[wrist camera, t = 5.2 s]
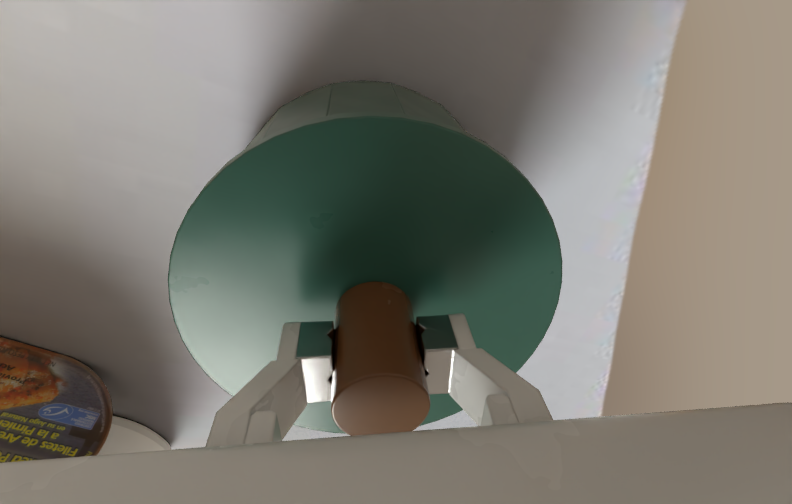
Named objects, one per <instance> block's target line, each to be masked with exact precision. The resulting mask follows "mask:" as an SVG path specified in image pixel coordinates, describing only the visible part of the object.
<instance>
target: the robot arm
mask: <svg viewBox="0 0 792 504" xmlns="http://www.w3.org/2000/svg"><path fill="white" fill-rule="evenodd" d="M416 330H417V335H418V340H419V345H420V350H421V356H422V361H423V366H424V370H425V375H426V380H427V385H428V390H429V394H448V393H450V394H449V395H450V396H451V397H452V398H453V399H454V400H455V401H456V402H457V403H458V404H459V406H460V407H461V408H462V409H463V410H464V411H465V412H466V413H467V414H468V415H469V416H470V417H471V418H472V420H473V421H474V422H475V423H476V424H477V425H478V426H475V427H462V428H448V429H435V430H421V431H408V432H396V433H383V434H370V435H357V436H344V437H331V438H318V439H305V440H292V441H282V439H283V438H284V436H285V435H286V434H287V432H288V431H289V429H290V428H291V427H292V425H293V424H294V423H295V421H296V420H297V418H298V417H299V416H300V414H301V413H302V411H303V410H304V409H305V407H306V406H307V403H315V402H326V401H331V392H332V374H333V357H334V354H333V347H334V331H335V329H334V322H333V321H315V322H292V323H285V324H284V325H283V329H282V334H281V339H280V344H279V349H278V354H277V359H276V361H271V362H270V363H269V364H268V365H267V366H265V367H264V368H263V369H262V370H261V371H260V372H259V373H258V374H257V375H256V376H255V377H254V378H253V379H252V380H251V381H249V382H248V383H247V384H246V385H245V386H244V387H243V388H242V389H241V390H240V391H239V392H238V393H237V394H236V395H235V396H233V397H232V398H231V399H230V400H229V401H228V402H227V403H226V404H225V405H224V406H223V407H222V408H221V409H220V410H219V411H217V412H216V415H215V418H214V421H213V425H212V428H211V431H210V434H209V437H208V440H207V443H206V447H201V448H188V449H175V450H162V451H148V452H135V453H122V454H109V455H96V456H83V457H69V458H56V459H43V460H30V461H17V462H4V463H0V504H792V403H773V404H762V405H748V406H735V407H723V408H709V409H696V410H683V411H670V412H658V413H644V414H631V415H618V416H605V417H591V418H578V419H565V420H553V419H552V416H551V414H550V412H549V410H548V408H547V406H546V404H545V402H544V400H543V397H542V395H541V393H540V391H539V390H538V389H537V388H535V387H534V386H532V385H531V384H530V383H528V382H527V381H526V380H524V379H523V378H521V377H520V376H519V375H517V374H516V373H515V372H513V371H512V370H511V369H509V368H508V367H506V366H505V365H504V364H502V363H501V362H500V361H498V360H497V359H495V358H494V357H493V356H491V355H490V354H489V353H487V352H486V351H485V350H483V349H482V348H476V345H475V342H474V339H473V337H472V334H471V331H470V328H469V326H468V323H467V320H466V317H465V315H464V314H463V313H458V314H447V315H433V316H417V317H416Z"/></svg>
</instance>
